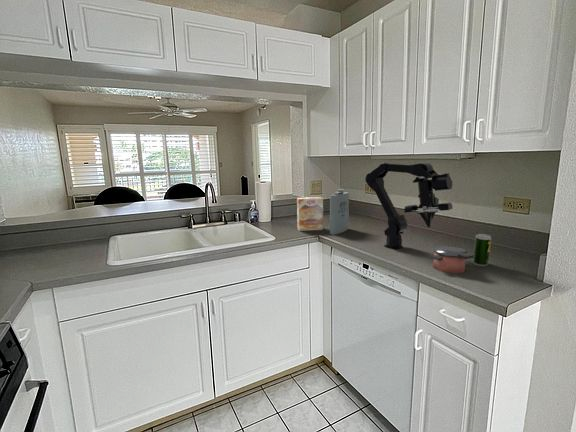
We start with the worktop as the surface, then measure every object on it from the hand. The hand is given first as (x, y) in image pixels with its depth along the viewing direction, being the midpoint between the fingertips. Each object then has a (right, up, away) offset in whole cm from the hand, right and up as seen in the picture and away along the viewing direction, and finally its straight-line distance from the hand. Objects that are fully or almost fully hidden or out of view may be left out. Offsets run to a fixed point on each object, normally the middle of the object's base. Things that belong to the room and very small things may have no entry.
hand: (429, 227), depth 136 cm
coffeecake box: (-49, -3, +54) cm, 73 cm away
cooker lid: (+2, -10, -17) cm, 19 cm away
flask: (-31, -4, +47) cm, 57 cm away
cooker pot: (+1, -16, -14) cm, 21 cm away
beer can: (+16, -15, -11) cm, 24 cm away
